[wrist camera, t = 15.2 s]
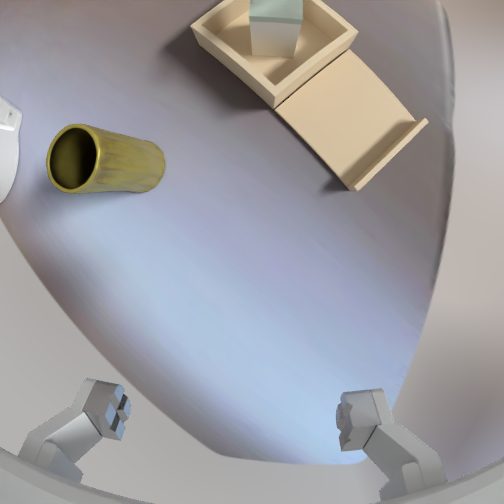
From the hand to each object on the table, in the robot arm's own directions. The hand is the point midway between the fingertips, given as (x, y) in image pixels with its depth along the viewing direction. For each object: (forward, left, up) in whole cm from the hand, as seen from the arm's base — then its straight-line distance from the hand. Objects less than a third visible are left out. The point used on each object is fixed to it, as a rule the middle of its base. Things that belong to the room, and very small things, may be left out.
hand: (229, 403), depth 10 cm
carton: (-16, +19, -24) cm, 34 cm away
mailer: (-10, +19, -25) cm, 33 cm away
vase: (-16, -2, -25) cm, 30 cm away
